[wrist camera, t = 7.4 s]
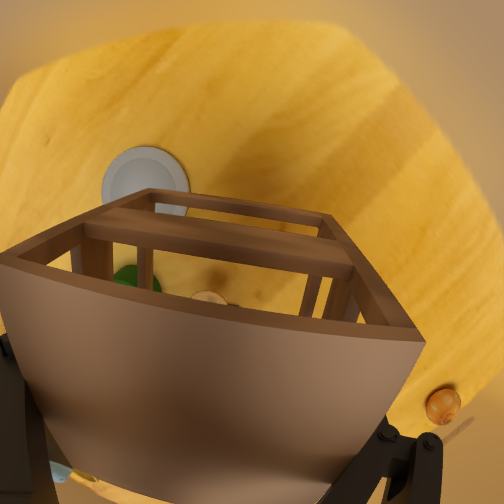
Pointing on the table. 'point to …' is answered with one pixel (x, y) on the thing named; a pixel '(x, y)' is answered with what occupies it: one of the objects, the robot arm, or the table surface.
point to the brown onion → (443, 406)
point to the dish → (145, 176)
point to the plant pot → (85, 476)
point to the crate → (204, 354)
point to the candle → (132, 278)
